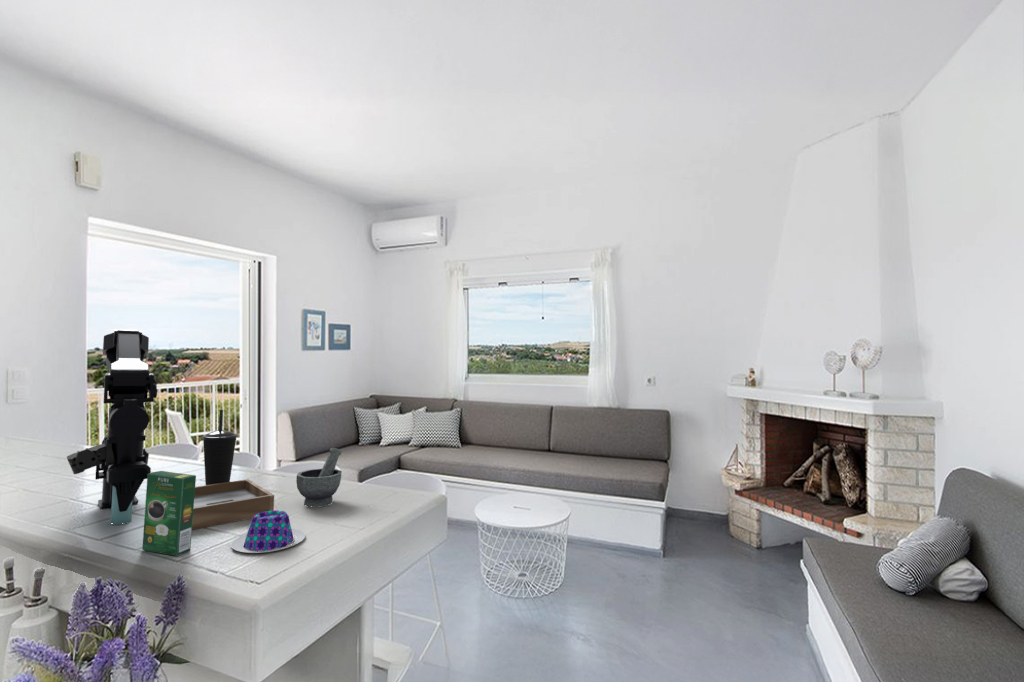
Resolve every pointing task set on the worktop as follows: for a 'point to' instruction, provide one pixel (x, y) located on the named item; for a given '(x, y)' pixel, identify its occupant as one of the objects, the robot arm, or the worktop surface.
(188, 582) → the worktop surface
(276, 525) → the patterned hat
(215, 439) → the drinking cup
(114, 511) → the peg
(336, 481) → the mortar and pestle
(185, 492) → the coffee box
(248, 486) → the insert box
